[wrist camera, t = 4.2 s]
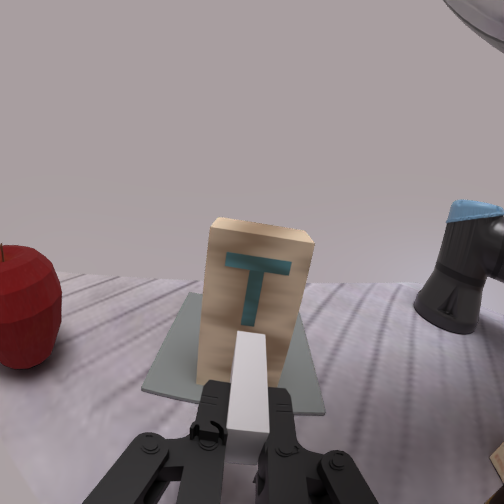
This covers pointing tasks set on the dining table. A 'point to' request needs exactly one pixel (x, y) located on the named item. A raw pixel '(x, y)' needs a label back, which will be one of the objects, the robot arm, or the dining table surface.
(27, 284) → the apple
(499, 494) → the coffee mug
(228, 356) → the letter block
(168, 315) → the dining table surface
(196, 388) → the mat
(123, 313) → the dining table surface
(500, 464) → the coffeecake box
